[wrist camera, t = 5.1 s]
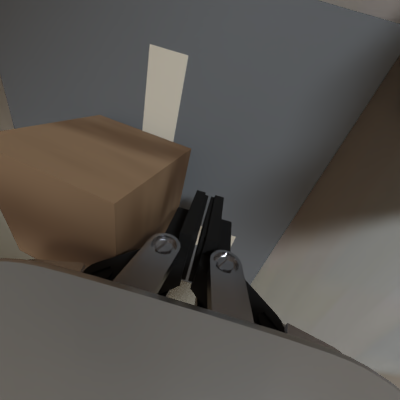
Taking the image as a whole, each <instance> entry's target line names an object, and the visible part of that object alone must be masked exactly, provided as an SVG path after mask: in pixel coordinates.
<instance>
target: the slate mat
mask: <svg viewBox="0 0 400 400" xmlns="http://www.w3.org/2000/svg"><path fill="white" fill-rule="evenodd" d="M399 55H400V24H398V23H395V22H391V21H388V20H384V19H381V18H378V17H374V16H371V15H367V14H364V13H360V12H357V11H353V10H350V9H346V8H343V7H340V6H336V5H333V4H329V3H326V2H322V1H319V0H0V75H1V79H2V83H3V86H4V90H5V94H6V98H7V102H8V106H9V110H10V113H11V117H12V121H13V125H14V129H17V128H23V127H29V126H35V125H41V124H47V123H53V122H59V121H65V120H71V119H77V118H83V117H90V116H96V115H102V116H104V117H107V118H110V119H113V120H115V121H118V122H121V123H123V124H126V125H129V126H131V127H134V128H137V129H140V130H142V131H145V132H148V133H150V134H153V135H156V136H158V137H161V138H164V139H167V140H169V141H172V142H175V143H177V144H180V145H183V146H185V147H188V148H191V153H190V158H189V162H188V167H187V172H186V176H185V181H184V186H183V190H182V195H181V200H180V204H179V207H181V208H184V209H188V210H189V209H190V206H191V204H192V201H193V199H194V196H195V194H196V191H197V190H199V191H202V192H206V194H205V195H208V200H207V204H206V208H205V211H204V215H203V219H202V222H201V226H200V230H199V233H198V237H197V241H196V244H195V248H194V251H193V255H192V258H191V262H190V265H189V269H188V272H187V276H186V279H185V280H183V281H186V282H189V281H188V279H189V275H190V271H191V267H192V264H193V260H194V256H195V252H196V248H197V244H198V240H199V236H200V233H201V229H202V226H203V222H204V219H205V215H206V212H207V209H208V205H209V202H210V198H211V196H212V197H215V195H217V196H221V197H224V202H223V211H222V219H223V220H227V221H230V222H232V226H231V252H232V253H233V254H235V255H236V256H237V257H238V258H239V260H240V261H241V264H242V267H243V272H244V277H245V280H246V281H247V282H248V283H249V285H250V284H251V283H252V281H253V280H254V278H255V276H256V275H257V273H258V272H259V270H260V269H261V267H262V266H263V264H264V263H265V261H266V260H267V258H268V256H269V255H270V253H271V252H272V250H273V249H274V247H275V246H276V244H277V243H278V241H279V240H280V238H281V236H282V235H283V233H284V232H285V230H286V229H287V227H288V226H289V224H290V223H291V221H292V220H293V218H294V217H295V215H296V213H297V212H298V210H299V209H300V207H301V206H302V204H303V203H304V201H305V200H306V198H307V197H308V195H309V193H310V192H311V190H312V189H313V187H314V186H315V184H316V183H317V181H318V180H319V178H320V177H321V175H322V173H323V172H324V170H325V169H326V167H327V166H328V164H329V163H330V161H331V160H332V158H333V157H334V155H335V153H336V152H337V150H338V149H339V147H340V146H341V144H342V143H343V141H344V140H345V138H346V137H347V135H348V133H349V132H350V130H351V129H352V127H353V126H354V124H355V123H356V121H357V120H358V118H359V117H360V115H361V113H362V112H363V110H364V109H365V107H366V106H367V104H368V103H369V101H370V100H371V98H372V97H373V95H374V93H375V92H376V90H377V89H378V87H379V86H380V84H381V83H382V81H383V80H384V78H385V77H386V75H387V73H388V72H389V70H390V69H391V67H392V66H393V64H394V63H395V61H396V60H397V58H398V57H399ZM181 280H182V279H181ZM189 283H192V282H189Z"/></svg>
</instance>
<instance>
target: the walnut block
mask: <svg viewBox="0 0 400 400" xmlns="http://www.w3.org/2000/svg"><path fill="white" fill-rule="evenodd" d="M190 153H191V148H188V147H185V146H183V145H180V144H177V143H175V142H172V141H169V140H167V139H164V138H161V137H158V136H156V135H153V134H150V133H148V132H145V131H142V130H140V129H137V128H134V127H131V126H129V125H126V124H123V123H121V122H118V121H115V120H113V119H110V118H107V117H104V116H102V115H96V116H90V117H83V118H77V119H71V120H65V121H59V122H53V123H47V124H41V125H35V126H29V127H23V128H17V129H11V130H4V131H0V209H1V211H2V213H3V216H4V218H5V220H6V222H7V224H8V226H9V228H10V230H11V232H12V234H13V237H14V239H15V241H16V243H17V245H18V247H19V249H20V250H21V251H23V252H25V253H27V254H28V255H30V256H32V257H34V258H36V259H43V260H55V261H67V262H80V263H85V266H90V265H91V264H94V263H96V262H99V261H102V260H106V259H109V258H112V257H115V256H119V255H122V254H125V253H128V252H132V251H135V250H138V249H141V248H142V247H143V246H144V244H145V243H146V242H147V241H148V240H149V239H150V238H151V237H152V236H153V235H156V234H159V233H165V232H166V230H167V228H168V226H169V224H170V222H171V220H172V218H173V216H174V214H175V212H176V210H177V209H178V207H179V204H180V200H181V195H182V190H183V186H184V181H185V176H186V172H187V167H188V162H189V158H190Z"/></svg>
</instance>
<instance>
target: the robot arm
mask: <svg viewBox="0 0 400 400" xmlns="http://www.w3.org/2000/svg"><path fill="white" fill-rule="evenodd" d="M205 194H206V192H202V191H199V190H197V191H196V194H195V196H194V199H193V201H192V204H191V206H190V209H189V210H188V209H184V208H181V207H178V209H177V210H176V212H175V214H174V216H173V218H172V220H171V222H170V224H169V226H168V228H167V230H166V232H165V233H159V234H156V235H153V236H152V237H151V238H150V239H149V240H148V241H147V242H146V243H145V244H144V246H143V247H142V248H141V249H138V250H135V251H132V252H128V253H125V254H122V255H119V256H115V257H112V258H109V259H106V260H102V261H99V262H96V263H94V264H91V265H90V266H85V263H80V262H67V261H55V260H43V259H29V260H23V259H7V258H4V259H0V400H400V389H399V388H397V387H396V386H395V385H394V384H392V383H391V382H390V381H388V380H387V379H385V378H384V377H382V376H381V375H379V374H378V373H377V372H375V371H374V370H372V369H371V368H369V367H367V366H365V365H364V364H362V363H360V362H358V361H356V360H355V359H353V358H351V357H349V356H346V355H344V354H342V353H341V352H340V351H338V350H337V349H336V348H334V347H332V346H330V345H328V344H326V343H325V342H323V341H321V340H319V339H317V338H315V337H313V336H311V335H309V334H307V333H306V332H304V331H302V330H300V329H298V328H296V327H294V326H292V325H290V324H288V323H287V324H286V325H284V324H283V323H282V322H281V320H280V319H279V317H278V316H277V315H276V314H275V312H274V311H273V310H272V309H271V308H270V307H269V306H268V305H267V304H266V302H265V301H264V300H263V299H262V298H261V297H260V296H259V295H258V294H257V292H256V291H255V290H254V289H253V288H252V287H251V286H250V285H249V283H248V282H247V281H246V280H245V277H244V272H243V267H242V264H241V261H240V260H239V258H238V257H237V256H236V255H235V254H233V253H232V252H231V226H232V222H230V221H227V220H223V219H222V211H223V202H224V197H221V196H217V195H215V197H212V196H211V198H210V202H209V205H208V209H207V212H206V215H205V219H204V222H203V226H202V229H201V233H200V236H199V240H198V244H197V248H196V252H195V256H194V260H193V264H192V267H191V271H190V275H189V279H188V281H189V282H192V284H191V288H190V289H191V290H192V291H193V293H194V294H195V296H196V299H195V305H191V304H188V303H185V302H181V301H178V300H175V299H171V298H168V295H169V293H170V290H171V289H173V288H175V287H177V286H179V285H180V282H181V279H182V280H185V279H186V276H187V272H188V269H189V265H190V262H191V258H192V255H193V251H194V248H195V244H196V241H197V237H198V233H199V230H200V226H201V222H202V219H203V215H204V211H205V208H206V204H207V200H208V195H205Z"/></svg>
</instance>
